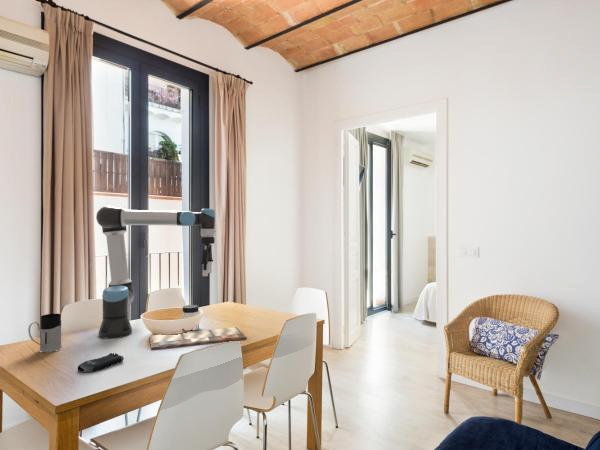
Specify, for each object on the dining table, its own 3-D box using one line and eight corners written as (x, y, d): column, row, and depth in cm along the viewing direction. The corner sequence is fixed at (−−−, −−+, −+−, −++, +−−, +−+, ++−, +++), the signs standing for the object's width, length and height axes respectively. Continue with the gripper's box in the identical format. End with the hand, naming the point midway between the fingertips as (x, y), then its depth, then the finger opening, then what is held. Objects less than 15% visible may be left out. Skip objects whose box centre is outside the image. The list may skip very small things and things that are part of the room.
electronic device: (107, 363, 162) (72, 369, 149) (110, 349, 162) (75, 354, 149) (122, 370, 157) (86, 377, 144) (125, 356, 157) (89, 362, 144)
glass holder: (67, 347, 176) (67, 314, 176) (36, 357, 163) (36, 321, 163) (52, 345, 179) (52, 312, 179) (21, 355, 166) (21, 319, 166)
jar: (191, 332, 202) (191, 308, 202) (178, 330, 206) (178, 307, 206) (202, 327, 211) (202, 305, 211) (189, 326, 214) (189, 304, 214)
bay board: (151, 349, 173) (151, 346, 173) (149, 337, 192) (149, 335, 192) (246, 339, 190) (246, 336, 190) (236, 329, 209) (236, 326, 209)
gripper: (211, 237, 208) (210, 277, 208) (217, 236, 233) (217, 271, 233) (196, 237, 208) (196, 277, 208) (204, 235, 233) (204, 271, 232)
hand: (207, 274), depth 220 cm, fingers open, 13 cm apart
